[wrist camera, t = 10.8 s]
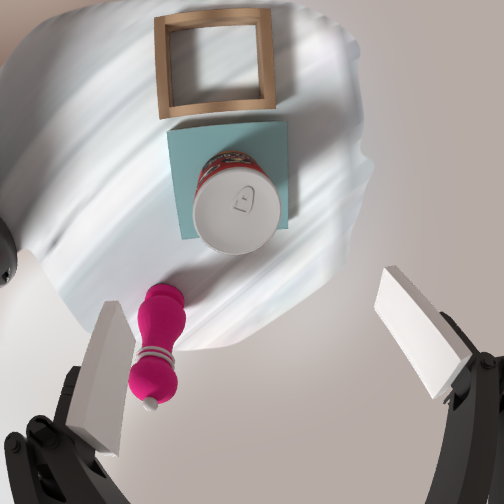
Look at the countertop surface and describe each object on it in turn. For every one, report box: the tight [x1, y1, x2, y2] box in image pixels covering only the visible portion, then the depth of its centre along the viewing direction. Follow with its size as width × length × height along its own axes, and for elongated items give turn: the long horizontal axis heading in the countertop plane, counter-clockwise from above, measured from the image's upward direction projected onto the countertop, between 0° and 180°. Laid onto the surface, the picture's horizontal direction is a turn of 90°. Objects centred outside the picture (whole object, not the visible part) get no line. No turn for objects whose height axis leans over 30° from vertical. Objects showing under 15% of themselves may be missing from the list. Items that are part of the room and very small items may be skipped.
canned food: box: [193, 151, 282, 255], centre depth 28 cm, size 8×8×11 cm
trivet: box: [167, 121, 288, 240], centre depth 34 cm, size 14×14×2 cm
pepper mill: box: [128, 284, 186, 411], centre depth 34 cm, size 7×7×20 cm
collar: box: [154, 8, 276, 119], centre depth 25 cm, size 13×13×4 cm
